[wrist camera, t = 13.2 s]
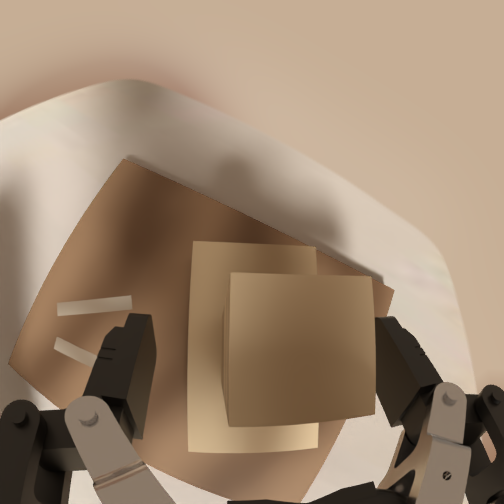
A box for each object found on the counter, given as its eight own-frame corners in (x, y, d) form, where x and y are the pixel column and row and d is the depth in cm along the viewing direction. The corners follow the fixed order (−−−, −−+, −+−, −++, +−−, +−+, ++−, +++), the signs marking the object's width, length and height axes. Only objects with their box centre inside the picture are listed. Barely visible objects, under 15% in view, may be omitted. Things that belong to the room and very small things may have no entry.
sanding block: (192, 434, 14) (162, 552, 4) (196, 259, 17) (174, 128, 7) (300, 433, 15) (411, 520, 4) (300, 263, 18) (398, 153, 7)
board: (17, 363, 15) (8, 363, 13) (127, 168, 20) (123, 158, 19) (287, 507, 14) (291, 516, 13) (385, 293, 19) (394, 290, 18)
